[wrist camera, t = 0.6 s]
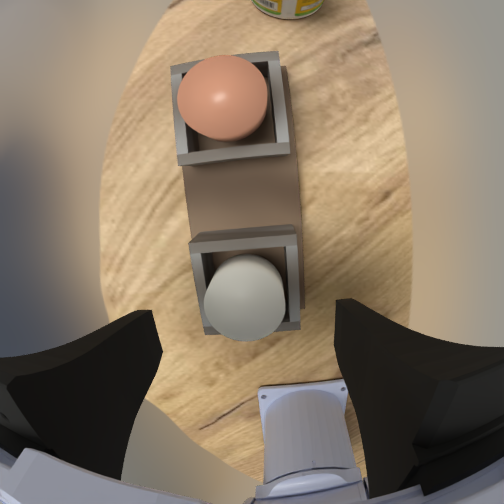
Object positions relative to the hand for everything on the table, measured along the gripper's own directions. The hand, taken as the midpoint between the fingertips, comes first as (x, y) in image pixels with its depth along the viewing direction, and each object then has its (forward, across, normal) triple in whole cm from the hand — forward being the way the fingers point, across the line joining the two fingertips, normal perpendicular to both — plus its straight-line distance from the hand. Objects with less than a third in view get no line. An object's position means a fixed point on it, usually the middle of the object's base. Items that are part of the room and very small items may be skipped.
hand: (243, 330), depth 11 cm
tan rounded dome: (+6, 0, -9) cm, 11 cm away
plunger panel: (+9, 0, -4) cm, 10 cm away
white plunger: (+6, 0, +1) cm, 6 cm away
